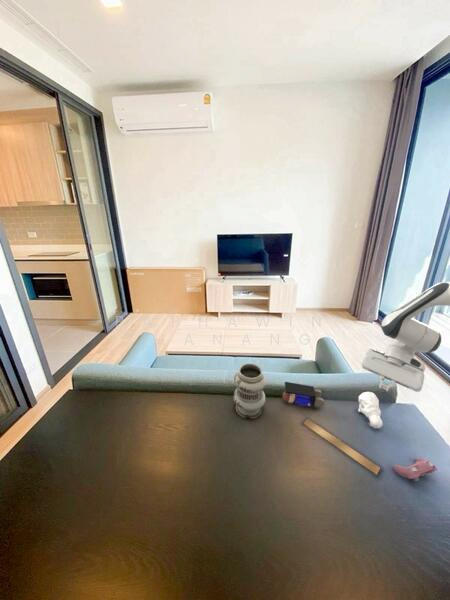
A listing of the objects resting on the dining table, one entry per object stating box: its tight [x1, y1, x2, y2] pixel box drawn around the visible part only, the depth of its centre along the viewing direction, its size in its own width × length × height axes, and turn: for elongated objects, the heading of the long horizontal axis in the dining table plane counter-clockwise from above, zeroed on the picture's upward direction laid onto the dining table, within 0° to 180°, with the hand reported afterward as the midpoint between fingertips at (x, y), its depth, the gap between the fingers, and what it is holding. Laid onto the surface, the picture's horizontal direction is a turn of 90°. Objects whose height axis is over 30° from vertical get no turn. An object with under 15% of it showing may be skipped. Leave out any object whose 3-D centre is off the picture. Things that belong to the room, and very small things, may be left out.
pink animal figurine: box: [393, 457, 438, 482], centre depth 70 cm, size 10×5×7 cm, turn 105°
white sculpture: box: [357, 391, 383, 430], centre depth 89 cm, size 6×8×12 cm
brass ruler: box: [303, 418, 381, 476], centre depth 80 cm, size 24×3×1 cm, turn 42°
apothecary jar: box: [232, 363, 267, 420], centre depth 91 cm, size 12×12×18 cm
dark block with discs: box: [282, 381, 325, 409], centre depth 96 cm, size 7×8×15 cm
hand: (383, 389), depth 93 cm, fingers closed
